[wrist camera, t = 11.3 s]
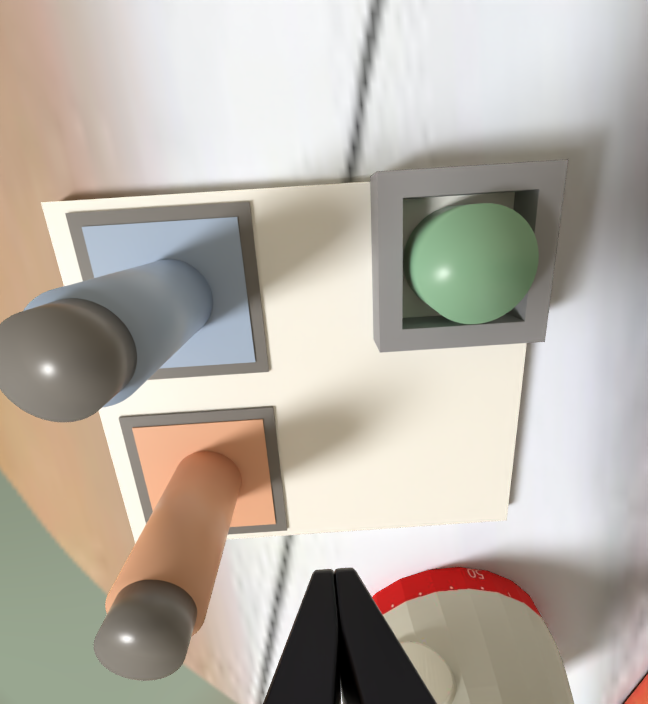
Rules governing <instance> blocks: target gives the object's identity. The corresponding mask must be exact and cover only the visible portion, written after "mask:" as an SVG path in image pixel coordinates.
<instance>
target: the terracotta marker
mask: <svg viewBox="0 0 648 704" xmlns="http://www.w3.org/2000/svg"><path fill="white" fill-rule="evenodd" d="M240 487H241V474H240V472H239V469H238V468H237V466H236V465H235V463H234V462H233V461H232V460H230V459H229V458H228V457H226V456H224V455H222V454H220V453H217V452H212V451H200V452H195V453H192V454H190V455H188V456H186V457H185V458H184V459H183V460H182V461H181V462H180V463H179V465H178V466H177V468H176V470H175V472H174V474H173V476H172V477H171V479H170V481H169V483H168V485H167V487H166V488H165V490H164V492H163V494H162V496H161V498H160V500H159V501H158V503H157V505H156V507H155V509H154V511H153V512H152V514H151V516H150V518H149V520H148V522H147V523H146V525H145V527H144V529H143V531H142V533H141V534H140V536H139V538H138V540H137V542H136V544H135V546H134V547H133V549H132V551H131V553H130V555H129V557H128V558H127V560H126V562H125V564H124V566H123V568H122V569H121V571H120V573H119V575H118V577H117V579H116V581H115V582H114V584H113V586H112V588H111V590H110V592H109V593H108V595H107V598H106V604H105V605H106V612H107V616H106V618H105V620H104V621H103V624H102V625H101V627H100V629H99V631H98V633H97V635H96V637H95V640H94V651H95V654H96V656H97V658H98V660H99V661H100V662H101V664H103V666H105V667H106V668H107V669H108V670H110V671H111V672H113V673H115V674H117V675H120V676H122V677H125V678H129V679H134V680H143V681H146V680H156V679H161V678H164V677H167V676H169V675H171V674H172V673H174V672H175V671H177V670H178V669H179V668H180V667H181V665H182V664H183V662H184V660H185V656H186V653H187V650H188V646H189V643H190V639H191V637H192V636H193V635H194V634H195V633H197V632H198V631H199V629H200V628H201V627H202V625H203V623H204V620H205V616H206V613H207V609H208V605H209V602H210V598H211V594H212V591H213V587H214V583H215V579H216V576H217V572H218V568H219V565H220V561H221V557H222V554H223V550H224V546H225V542H226V539H227V535H228V531H229V528H230V524H231V520H232V516H233V513H234V509H235V505H236V502H237V498H238V494H239V491H240Z"/></svg>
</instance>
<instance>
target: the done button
mask: <svg viewBox="0 0 648 704" xmlns="http://www.w3.org/2000/svg"><path fill="white" fill-rule="evenodd" d="M538 259H539V253H538V245H537V240H536V237H535V234H534V232H533V230H532V228H531V227H530V225H529V224H528V222H527V221H526V220H525V219H524V218H523V217H522V216H521V215H520V214H519V213H517V212H516V211H514V210H512V209H510V208H508V207H506V206H503V205H499V204H493V203H480V204H467V205H454V206H448V207H444V208H441V209H439V210H436V211H434V212H433V213H431V214H429V215H428V216H426V217H425V218H424V219H423V220H422V221H421V222H420V223H419V224H418V225H417V226H416V227H415V229H414V230H413V232H412V233H411V235H410V237H409V239H408V241H407V243H406V247H405V250H404V256H403V269H404V274H405V277H406V280H407V283H408V285H409V287H410V288H411V289H412V291H413V292H414V293H415V294H416V295H417V296H418V297H419V298H420V299H421V300H423V301H424V302H425V303H426V304H428V305H429V306H430V307H432V308H433V309H434V310H435V311H437V312H438V313H439V314H441V315H442V316H444V317H445V318H447V319H449V320H452V321H454V322H458V323H463V324H480V323H485V322H489V321H492V320H495V319H497V318H499V317H501V316H503V315H505V314H506V313H508V312H509V311H511V310H512V309H513V308H514V307H515V306H516V305H517V304H518V303H519V302H520V301H521V300H522V299H523V298H524V296H525V295H526V294H527V292H528V290H529V289H530V287H531V285H532V283H533V281H534V278H535V275H536V272H537V267H538Z"/></svg>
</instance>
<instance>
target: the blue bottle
mask: <svg viewBox="0 0 648 704" xmlns="http://www.w3.org/2000/svg"><path fill="white" fill-rule="evenodd" d="M212 306H213V298H212V292H211V289H210V286H209V284H208V282H207V281H206V279H205V278H204V276H203V275H202V274H201V273H200V272H199V271H198V270H197V269H195V268H194V267H193V266H191V265H189V264H187V263H185V262H183V261H179V260H174V259H164V260H159V261H155V262H152V263H148V264H144V265H141V266H137V267H133V268H130V269H126V270H122V271H119V272H115V273H111V274H108V275H104V276H100V277H97V278H93V279H89V280H86V281H82V282H78V283H75V284H71V285H67V286H64V287H60V288H56V289H53V290H49V291H47V292H45V293H42V294H41V295H39V296H37V297H36V298H35V299H33V300H32V301H31V302H30V303H29V304H28V305H27V306H26V308H25V309H24V311H22V312H19V313H17V314H14V315H12V316H10V317H9V318H7V319H5V320H4V321H3V322H2V323H1V324H0V389H1V391H2V392H3V393H4V395H5V396H6V397H7V398H8V399H9V400H10V401H11V402H13V403H14V404H15V405H16V406H18V407H19V408H20V409H22V410H24V411H25V412H27V413H29V414H31V415H33V416H35V417H38V418H41V419H44V420H48V421H54V422H74V421H78V420H82V419H85V418H87V417H89V416H91V415H93V414H95V413H96V412H97V411H98V410H100V409H101V408H103V407H108V406H113V405H115V404H118V403H120V402H122V401H124V400H126V399H127V398H129V397H130V396H131V395H132V394H133V393H134V392H135V391H136V390H138V389H139V388H140V387H141V386H142V385H143V384H144V383H145V382H146V381H147V380H148V379H149V378H150V377H151V376H152V375H153V374H154V373H155V372H156V371H157V370H158V369H159V368H160V367H161V366H162V365H163V364H164V363H165V362H166V361H167V360H168V359H169V358H171V357H172V356H173V355H174V354H175V353H176V352H177V351H178V350H179V349H180V348H181V347H182V346H183V345H184V344H185V343H186V342H187V341H188V340H189V339H190V338H191V337H192V336H193V335H194V334H195V333H196V332H197V331H198V330H199V329H200V328H201V327H202V326H203V325H204V324H205V323H206V322H207V320H208V319H209V317H210V314H211V312H212Z"/></svg>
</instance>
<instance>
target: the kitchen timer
mask: <svg viewBox="0 0 648 704" xmlns="http://www.w3.org/2000/svg"><path fill="white" fill-rule="evenodd" d="M372 598H373V600H374V601H375V603H376V605H377V606H378V608H379V610H380V611H381V613H382V614H383V616H384V618H385V619H386V621H387V623H388V624H389V626H390V627H391V629H392V631H393V632H394V634H395V636H396V637H397V639H398V641H399V642H400V644H401V645H402V647H403V649H404V650H405V652H406V654H407V655H408V657H409V659H410V660H411V662H412V663H413V665H414V667H415V668H416V670H417V672H418V673H419V675H420V676H421V678H422V680H423V681H424V683H425V685H426V686H427V688H428V690H429V691H430V693H431V694H432V696H433V698H434V699H435V701H436V703H437V704H574V701H573V697H572V693H571V689H570V686H569V682H568V678H567V675H566V671H565V668H564V665H563V661H562V659H561V656H560V654H559V651H558V648H557V646H556V644H555V642H554V640H553V637H552V635H551V634H550V632H549V630H548V628H547V626H546V624H545V622H544V621H543V619H542V617H541V615H540V613H539V612H538V610H537V608H536V606H535V605H534V603H533V601H532V599H531V598H530V596H529V595H528V594H527V593H526V592H525V591H523V590H522V589H521V588H520V587H519V586H517V585H516V584H515V583H514V582H513V581H511V580H509V579H506V578H504V577H501V576H499V575H497V574H494V573H492V572H489V571H485V570H478V569H470V568H462V567H454V568H443V569H433V570H427V571H424V572H421V573H417V574H414V575H411V576H408V577H405V578H402V579H399V580H398V581H396V582H394V583H393V584H391V585H389V586H387V587H386V588H384V589H382V590H381V591H379V592H377V593H376V594H375V595H374V596H373V597H372Z"/></svg>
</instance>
